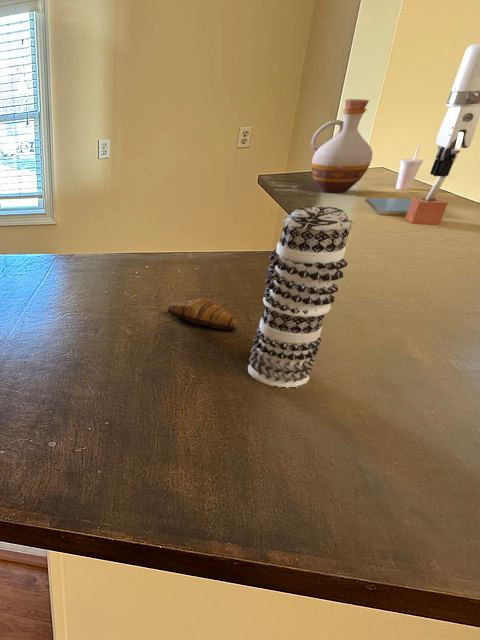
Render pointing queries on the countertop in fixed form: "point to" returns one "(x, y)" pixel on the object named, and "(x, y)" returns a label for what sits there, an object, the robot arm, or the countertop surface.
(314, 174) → the jug
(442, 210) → the pen stand
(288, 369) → the decorative candle
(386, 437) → the countertop surface
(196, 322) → the croissant
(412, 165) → the smoothie
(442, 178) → the stylus
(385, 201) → the tablet
